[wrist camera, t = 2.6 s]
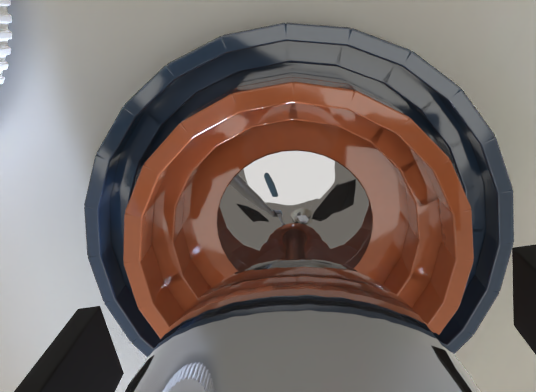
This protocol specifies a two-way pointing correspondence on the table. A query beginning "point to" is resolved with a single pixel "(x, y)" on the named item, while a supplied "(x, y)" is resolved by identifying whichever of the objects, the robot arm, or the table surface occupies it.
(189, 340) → the wine glass
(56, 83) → the table surface
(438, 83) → the serving bowl
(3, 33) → the plastic lid
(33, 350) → the table surface
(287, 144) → the small bowl
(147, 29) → the table surface
